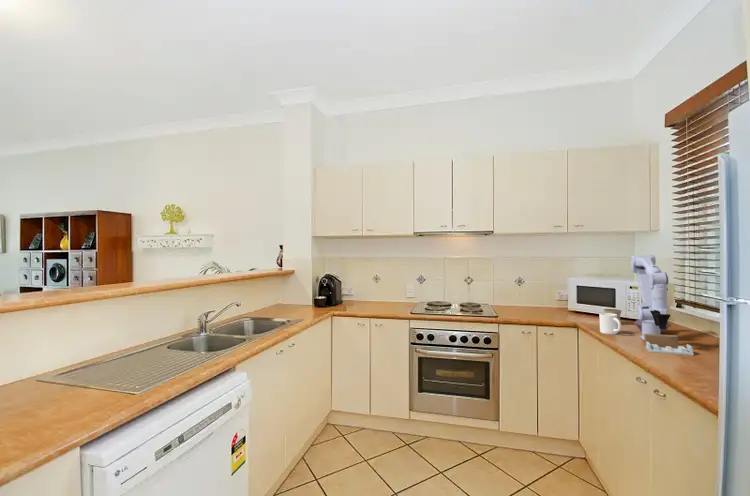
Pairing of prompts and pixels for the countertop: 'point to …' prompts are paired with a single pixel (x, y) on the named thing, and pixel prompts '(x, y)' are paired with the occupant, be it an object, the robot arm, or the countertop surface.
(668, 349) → the display stand
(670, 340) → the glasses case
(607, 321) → the mug
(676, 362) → the countertop surface
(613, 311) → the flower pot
